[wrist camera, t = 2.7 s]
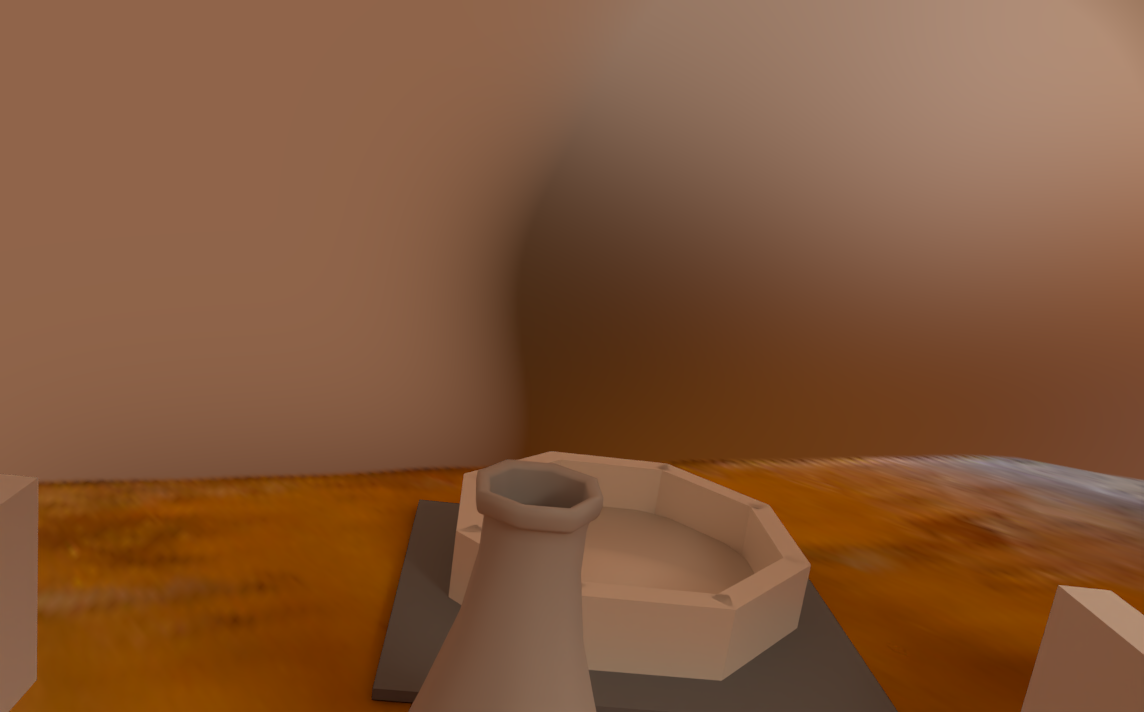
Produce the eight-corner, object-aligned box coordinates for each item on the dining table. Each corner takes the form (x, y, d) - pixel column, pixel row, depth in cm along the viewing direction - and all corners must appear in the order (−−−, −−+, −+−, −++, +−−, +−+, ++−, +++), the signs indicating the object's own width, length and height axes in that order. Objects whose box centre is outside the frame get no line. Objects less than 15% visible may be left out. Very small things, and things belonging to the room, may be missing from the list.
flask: (302, 893, 21) (332, 505, 19) (419, 714, 28) (451, 415, 26) (598, 987, 20) (669, 582, 17) (644, 776, 27) (699, 465, 24)
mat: (778, 542, 45) (779, 535, 44) (907, 740, 30) (910, 730, 30) (418, 507, 43) (419, 499, 43) (371, 698, 28) (372, 688, 28)
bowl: (736, 523, 45) (746, 472, 45) (832, 689, 32) (849, 620, 31) (461, 495, 44) (468, 442, 43) (440, 657, 30) (448, 584, 30)
